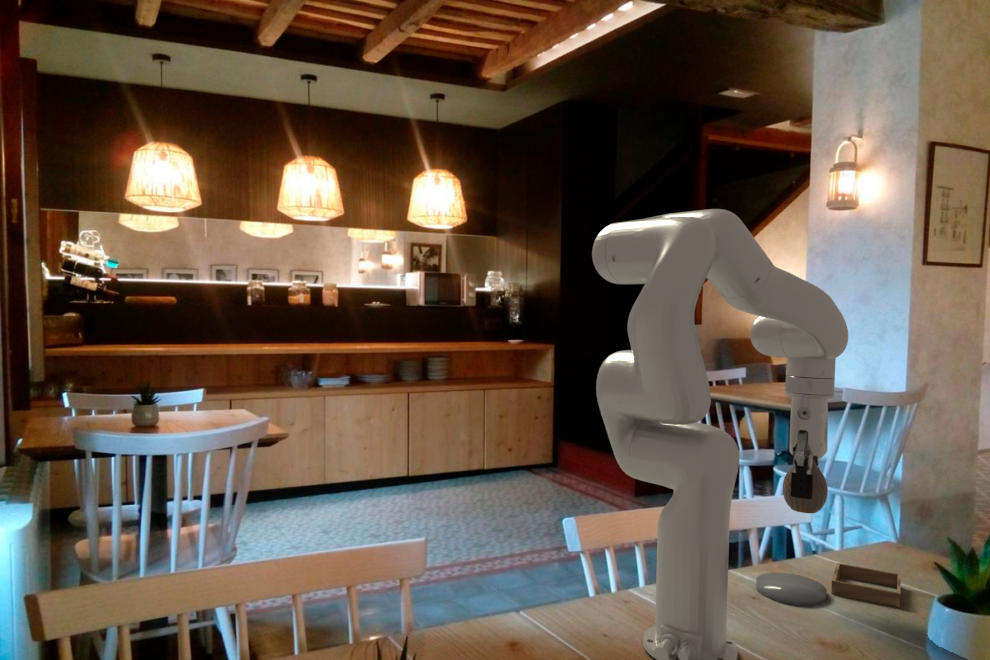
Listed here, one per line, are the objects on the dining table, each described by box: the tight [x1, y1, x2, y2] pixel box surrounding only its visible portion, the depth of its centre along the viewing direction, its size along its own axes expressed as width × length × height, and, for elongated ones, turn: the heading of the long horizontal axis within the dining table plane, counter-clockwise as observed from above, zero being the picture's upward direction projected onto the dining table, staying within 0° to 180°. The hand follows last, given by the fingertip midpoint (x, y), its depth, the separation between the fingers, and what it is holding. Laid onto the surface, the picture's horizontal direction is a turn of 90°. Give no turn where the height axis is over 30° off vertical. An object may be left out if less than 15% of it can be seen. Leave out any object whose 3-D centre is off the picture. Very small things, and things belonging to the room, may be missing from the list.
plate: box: [755, 572, 828, 607], centre depth 119 cm, size 11×11×1 cm
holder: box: [830, 562, 902, 608], centre depth 120 cm, size 10×10×2 cm
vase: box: [782, 459, 828, 514], centre depth 118 cm, size 7×7×9 cm
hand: (804, 492), depth 118 cm, fingers closed on vase, 6 cm apart
